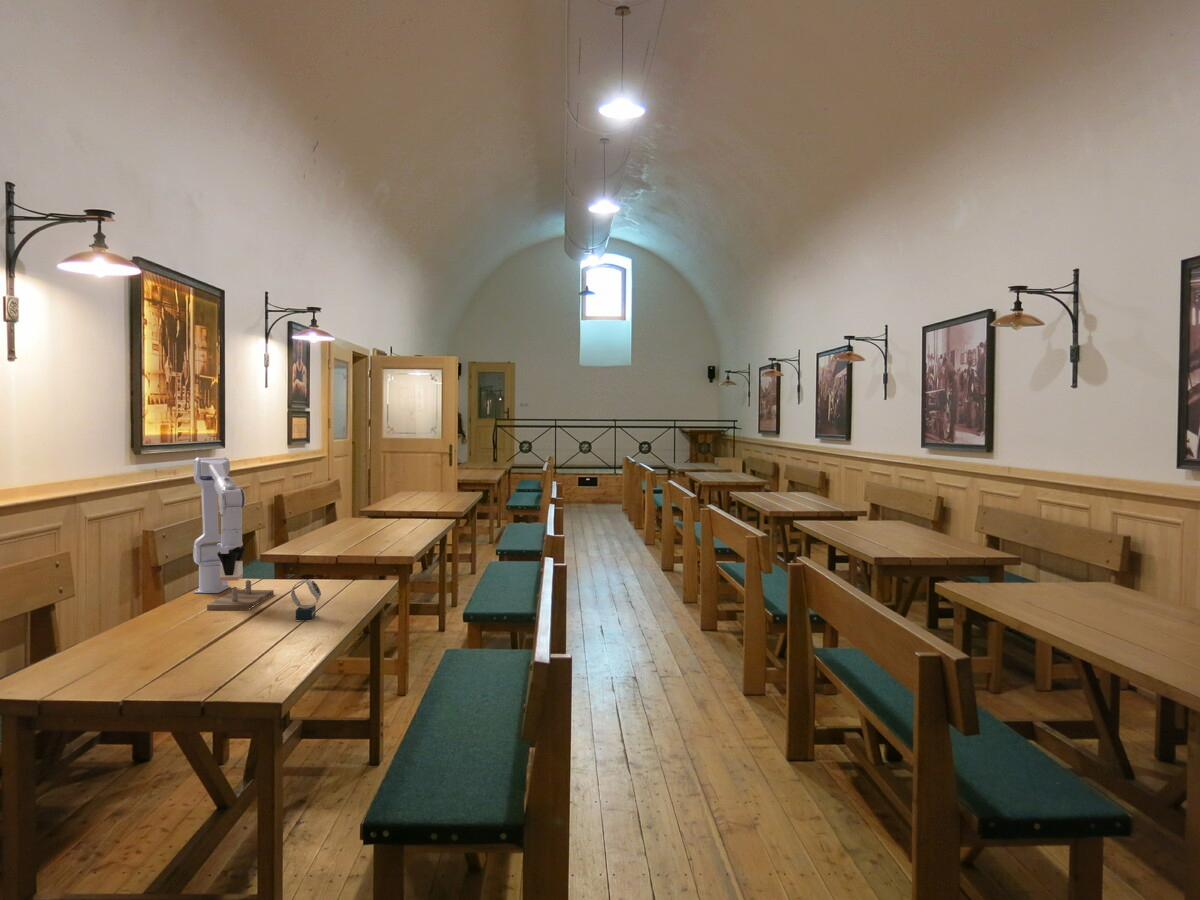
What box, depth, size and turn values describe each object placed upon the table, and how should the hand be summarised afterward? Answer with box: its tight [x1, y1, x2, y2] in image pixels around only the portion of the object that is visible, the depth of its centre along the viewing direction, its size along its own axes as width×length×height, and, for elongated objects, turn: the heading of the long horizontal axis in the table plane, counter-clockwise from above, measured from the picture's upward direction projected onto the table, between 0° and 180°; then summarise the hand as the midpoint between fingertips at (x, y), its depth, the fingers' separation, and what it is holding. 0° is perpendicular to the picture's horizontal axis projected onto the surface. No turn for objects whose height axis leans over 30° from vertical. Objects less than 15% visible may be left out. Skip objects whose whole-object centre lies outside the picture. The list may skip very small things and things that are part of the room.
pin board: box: [206, 579, 274, 611], centre depth 240 cm, size 20×12×6 cm, turn 3°
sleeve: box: [220, 560, 244, 581], centre depth 235 cm, size 5×5×5 cm
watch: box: [290, 579, 322, 622], centre depth 222 cm, size 6×8×11 cm
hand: (231, 573), depth 235 cm, fingers closed on sleeve, 5 cm apart
